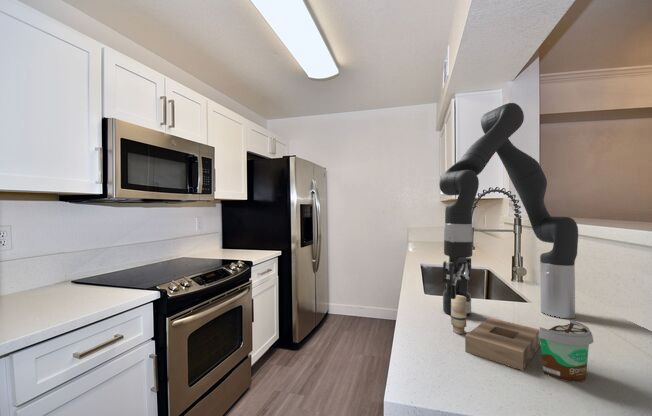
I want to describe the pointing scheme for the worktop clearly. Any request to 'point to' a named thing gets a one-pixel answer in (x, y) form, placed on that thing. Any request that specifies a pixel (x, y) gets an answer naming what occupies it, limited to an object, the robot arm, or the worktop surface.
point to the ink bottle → (448, 301)
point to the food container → (565, 351)
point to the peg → (458, 314)
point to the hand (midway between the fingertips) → (457, 295)
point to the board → (503, 342)
